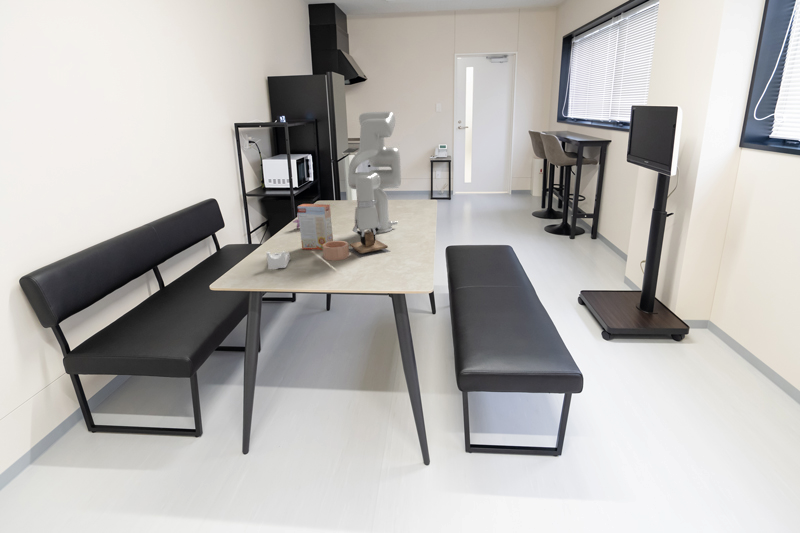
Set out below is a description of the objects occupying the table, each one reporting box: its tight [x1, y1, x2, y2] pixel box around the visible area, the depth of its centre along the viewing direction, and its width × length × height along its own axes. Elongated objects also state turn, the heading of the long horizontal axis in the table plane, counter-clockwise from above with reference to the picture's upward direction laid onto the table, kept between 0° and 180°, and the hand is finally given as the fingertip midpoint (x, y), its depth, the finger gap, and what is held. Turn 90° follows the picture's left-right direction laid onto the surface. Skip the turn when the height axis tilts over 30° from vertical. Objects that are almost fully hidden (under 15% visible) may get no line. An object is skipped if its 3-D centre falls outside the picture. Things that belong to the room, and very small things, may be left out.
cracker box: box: [297, 203, 334, 251], centre depth 217 cm, size 14×6×21 cm, turn 71°
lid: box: [349, 231, 389, 253], centre depth 212 cm, size 13×13×6 cm
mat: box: [349, 247, 391, 258], centre depth 213 cm, size 15×15×1 cm
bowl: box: [322, 240, 350, 261], centre depth 205 cm, size 11×11×6 cm
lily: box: [292, 212, 300, 229], centre depth 256 cm, size 12×12×10 cm
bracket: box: [266, 250, 291, 270], centre depth 199 cm, size 13×7×8 cm, turn 5°
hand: (368, 243), depth 212 cm, fingers closed on lid, 4 cm apart
